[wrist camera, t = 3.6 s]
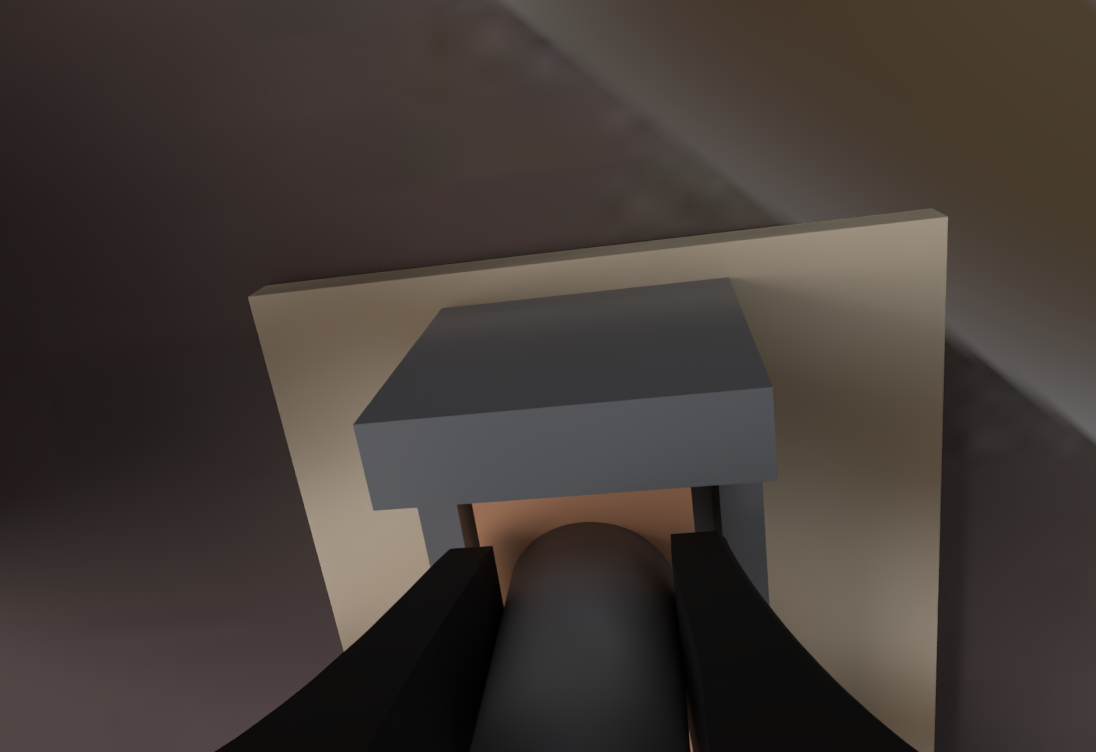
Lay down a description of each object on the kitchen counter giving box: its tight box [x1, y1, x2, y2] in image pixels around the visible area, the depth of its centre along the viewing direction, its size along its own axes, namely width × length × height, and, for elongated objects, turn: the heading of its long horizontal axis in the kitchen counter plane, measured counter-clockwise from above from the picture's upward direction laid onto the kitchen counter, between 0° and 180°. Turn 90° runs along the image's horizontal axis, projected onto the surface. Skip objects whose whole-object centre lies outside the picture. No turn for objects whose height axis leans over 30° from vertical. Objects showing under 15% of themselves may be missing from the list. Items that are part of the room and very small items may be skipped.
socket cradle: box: [353, 277, 777, 605], centre depth 13 cm, size 5×5×5 cm
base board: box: [248, 208, 948, 752], centre depth 18 cm, size 19×12×1 cm, turn 8°
